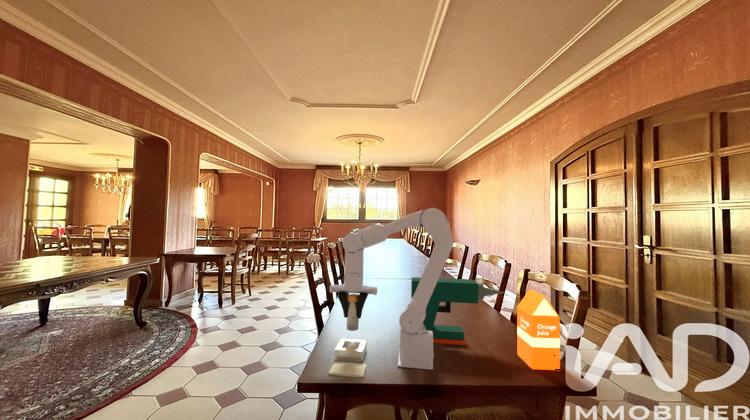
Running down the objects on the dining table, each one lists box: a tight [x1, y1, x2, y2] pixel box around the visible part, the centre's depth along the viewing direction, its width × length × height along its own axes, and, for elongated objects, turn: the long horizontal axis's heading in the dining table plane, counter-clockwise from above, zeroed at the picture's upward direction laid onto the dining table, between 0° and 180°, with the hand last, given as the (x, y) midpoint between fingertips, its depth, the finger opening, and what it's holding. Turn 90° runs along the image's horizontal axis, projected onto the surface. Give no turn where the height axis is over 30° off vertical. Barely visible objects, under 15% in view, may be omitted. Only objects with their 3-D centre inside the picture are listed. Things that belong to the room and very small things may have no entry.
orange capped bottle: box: [346, 293, 360, 332], centre depth 87 cm, size 4×4×10 cm
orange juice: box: [516, 288, 561, 371], centre depth 83 cm, size 8×9×20 cm
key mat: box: [328, 360, 368, 378], centre depth 76 cm, size 9×6×1 cm, turn 83°
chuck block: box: [334, 338, 368, 364], centre depth 84 cm, size 8×8×3 cm
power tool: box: [410, 276, 506, 346], centre depth 98 cm, size 32×7×20 cm, turn 84°
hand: (352, 317), depth 87 cm, fingers closed on orange capped bottle, 4 cm apart
